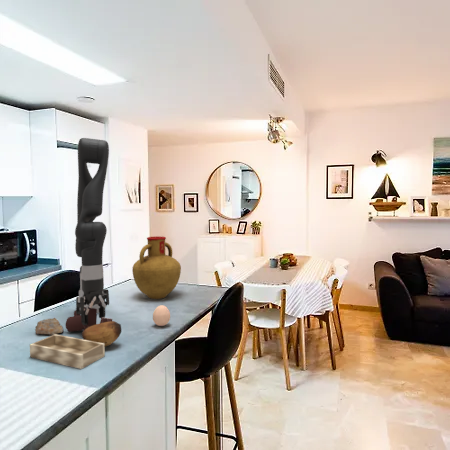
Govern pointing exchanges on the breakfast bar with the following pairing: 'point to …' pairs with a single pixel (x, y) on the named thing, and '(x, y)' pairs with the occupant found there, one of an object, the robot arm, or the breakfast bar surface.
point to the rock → (49, 327)
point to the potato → (103, 332)
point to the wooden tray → (67, 351)
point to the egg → (161, 315)
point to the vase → (156, 269)
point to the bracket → (76, 324)
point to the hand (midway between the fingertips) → (93, 321)
